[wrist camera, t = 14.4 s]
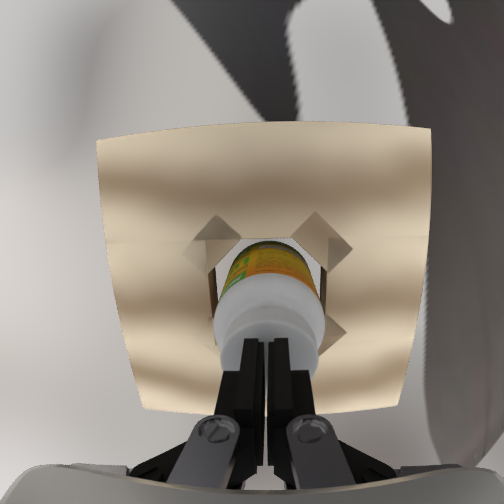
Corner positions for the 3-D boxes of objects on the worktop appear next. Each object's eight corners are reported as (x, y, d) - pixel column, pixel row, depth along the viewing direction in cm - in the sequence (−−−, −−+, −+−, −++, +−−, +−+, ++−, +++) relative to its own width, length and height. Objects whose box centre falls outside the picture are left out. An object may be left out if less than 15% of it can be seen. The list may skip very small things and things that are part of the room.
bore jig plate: (114, 141, 20) (96, 140, 17) (414, 131, 18) (430, 128, 16) (152, 390, 25) (143, 408, 23) (388, 386, 24) (397, 405, 21)
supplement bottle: (241, 228, 21) (220, 285, 12) (321, 252, 21) (358, 323, 12) (220, 302, 22) (190, 393, 13) (294, 323, 23) (306, 420, 13)
